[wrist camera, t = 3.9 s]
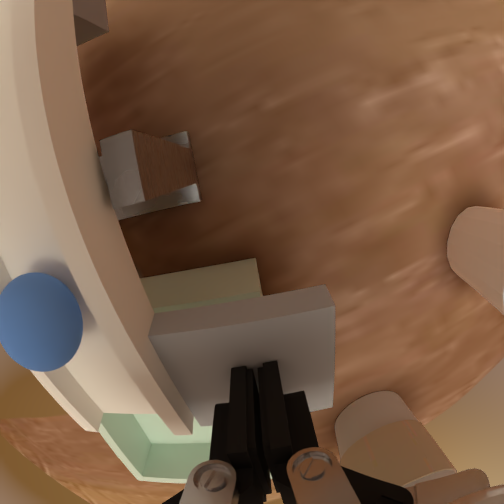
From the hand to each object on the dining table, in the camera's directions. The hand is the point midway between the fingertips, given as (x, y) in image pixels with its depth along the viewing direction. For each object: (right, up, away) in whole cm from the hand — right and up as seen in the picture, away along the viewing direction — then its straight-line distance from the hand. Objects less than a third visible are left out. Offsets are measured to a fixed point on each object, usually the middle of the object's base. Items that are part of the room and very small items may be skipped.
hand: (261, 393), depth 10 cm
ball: (-7, +3, -3) cm, 8 cm away
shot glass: (+16, +6, +8) cm, 19 cm away
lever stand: (-8, +9, +6) cm, 14 cm away
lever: (-5, +8, 0) cm, 10 cm away
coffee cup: (+10, -10, +12) cm, 19 cm away
